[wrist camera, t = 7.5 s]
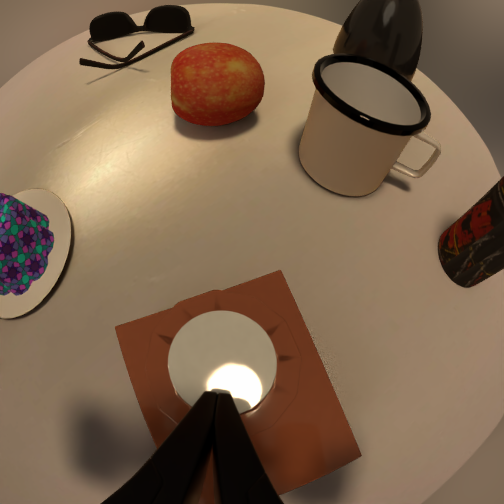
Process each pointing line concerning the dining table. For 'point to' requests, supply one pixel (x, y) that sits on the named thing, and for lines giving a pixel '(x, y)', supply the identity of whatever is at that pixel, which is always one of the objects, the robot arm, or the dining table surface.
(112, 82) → the dining table surface
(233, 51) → the apple
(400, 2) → the pump dispenser
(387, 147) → the mug
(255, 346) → the white cylinder
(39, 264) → the pudding
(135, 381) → the button housing
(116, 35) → the sunglasses
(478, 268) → the deodorant
